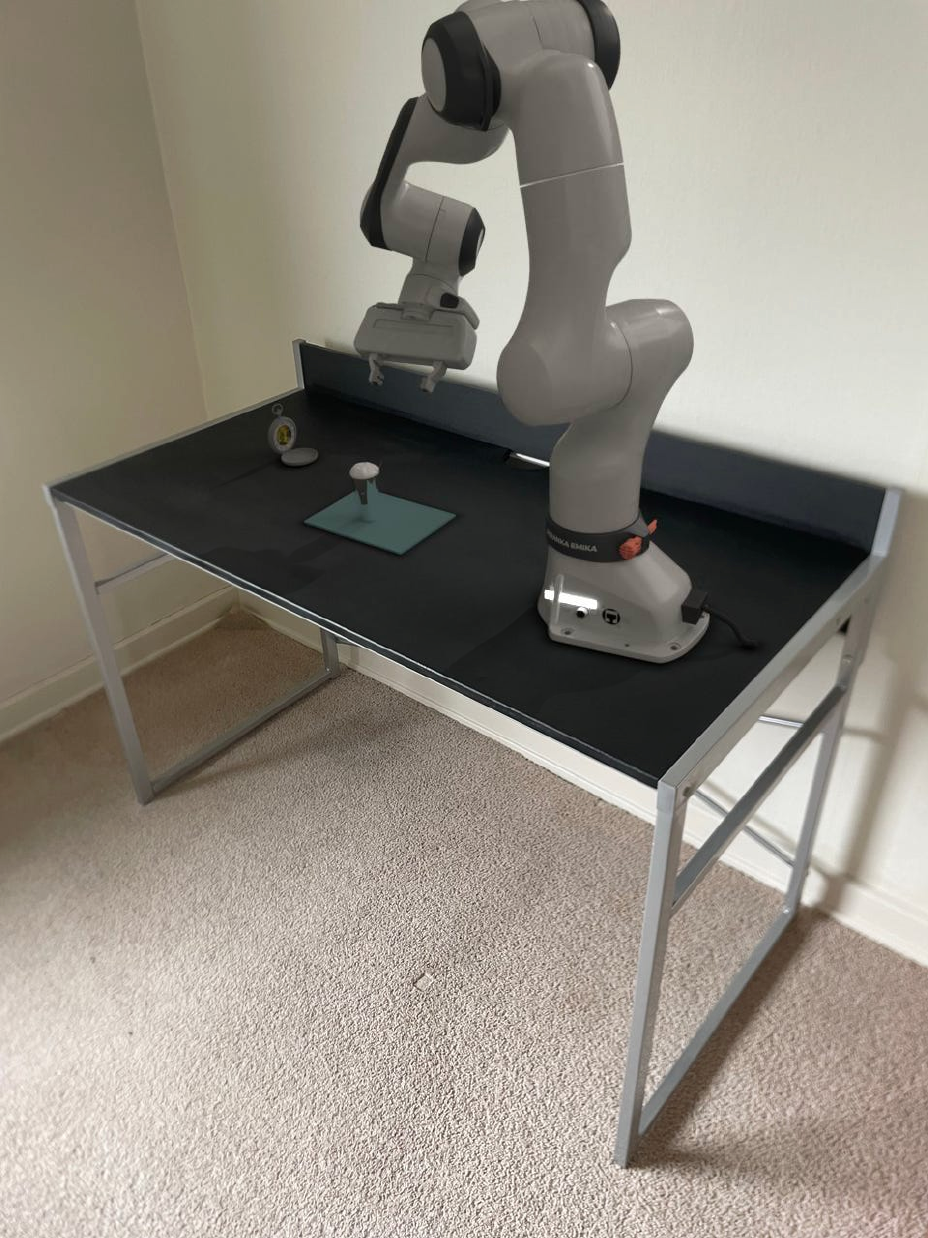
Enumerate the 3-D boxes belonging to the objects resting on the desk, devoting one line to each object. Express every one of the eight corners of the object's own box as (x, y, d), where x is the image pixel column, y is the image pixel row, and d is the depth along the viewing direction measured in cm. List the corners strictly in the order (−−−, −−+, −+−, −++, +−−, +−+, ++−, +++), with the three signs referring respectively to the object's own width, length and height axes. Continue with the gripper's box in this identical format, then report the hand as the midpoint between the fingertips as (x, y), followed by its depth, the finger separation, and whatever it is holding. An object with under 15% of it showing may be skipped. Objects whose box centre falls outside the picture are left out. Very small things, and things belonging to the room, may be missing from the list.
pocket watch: (315, 467, 165) (307, 414, 159) (269, 469, 165) (259, 416, 160) (322, 448, 172) (314, 396, 166) (277, 450, 172) (268, 399, 167)
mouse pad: (455, 516, 146) (455, 514, 146) (400, 555, 137) (400, 553, 137) (361, 489, 157) (361, 486, 156) (304, 523, 148) (303, 521, 147)
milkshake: (384, 524, 145) (377, 466, 139) (352, 523, 146) (344, 465, 140) (392, 511, 148) (385, 454, 143) (360, 510, 149) (352, 453, 144)
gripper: (361, 290, 147) (335, 370, 145) (474, 300, 139) (448, 385, 137) (379, 311, 153) (354, 388, 151) (489, 321, 144) (464, 403, 143)
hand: (399, 387), depth 144 cm, fingers open, 8 cm apart
